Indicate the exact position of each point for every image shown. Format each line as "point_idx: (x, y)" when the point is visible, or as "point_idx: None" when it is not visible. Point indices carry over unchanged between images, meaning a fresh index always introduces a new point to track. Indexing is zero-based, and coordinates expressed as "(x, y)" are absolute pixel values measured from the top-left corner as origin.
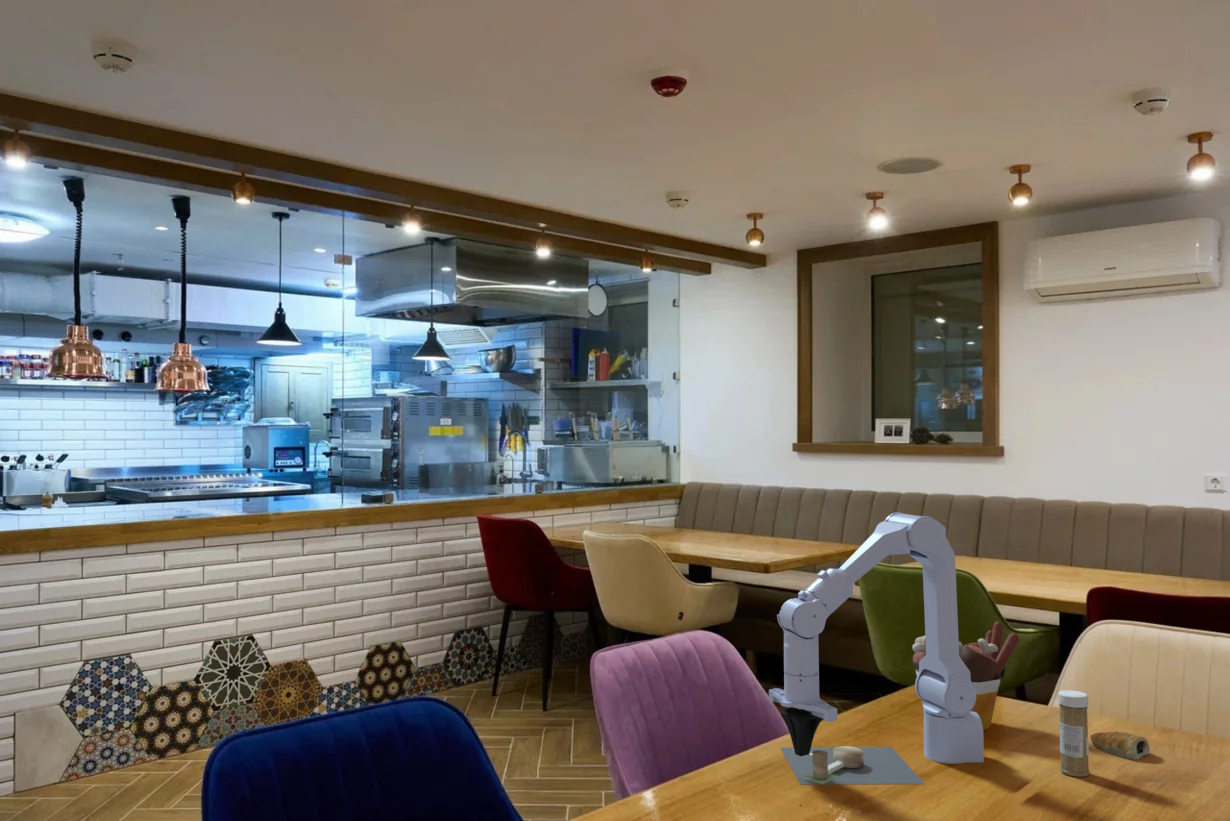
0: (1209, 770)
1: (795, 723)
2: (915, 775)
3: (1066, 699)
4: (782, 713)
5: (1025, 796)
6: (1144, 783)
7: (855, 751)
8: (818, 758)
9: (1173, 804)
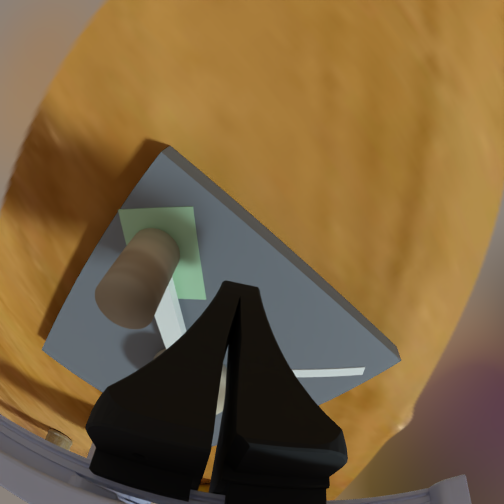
0: None
1: (180, 391)
2: (78, 374)
3: None
4: (316, 447)
5: (14, 376)
6: (30, 427)
7: None
8: (110, 270)
9: None
